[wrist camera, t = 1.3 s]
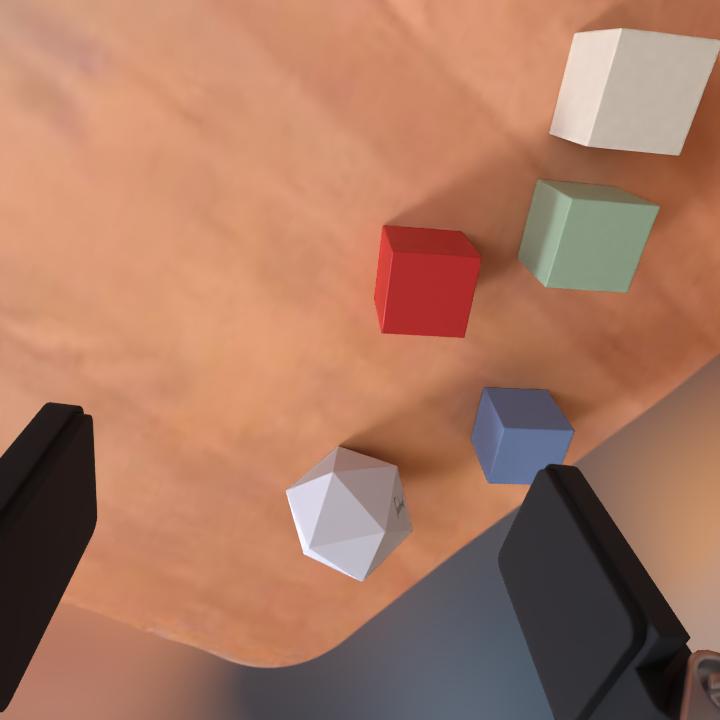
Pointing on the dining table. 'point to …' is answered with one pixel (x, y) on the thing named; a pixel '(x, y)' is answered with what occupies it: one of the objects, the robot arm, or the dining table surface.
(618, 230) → the sage block
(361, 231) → the dining table surface
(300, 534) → the die
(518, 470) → the blue block
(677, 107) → the cream block
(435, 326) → the red block
